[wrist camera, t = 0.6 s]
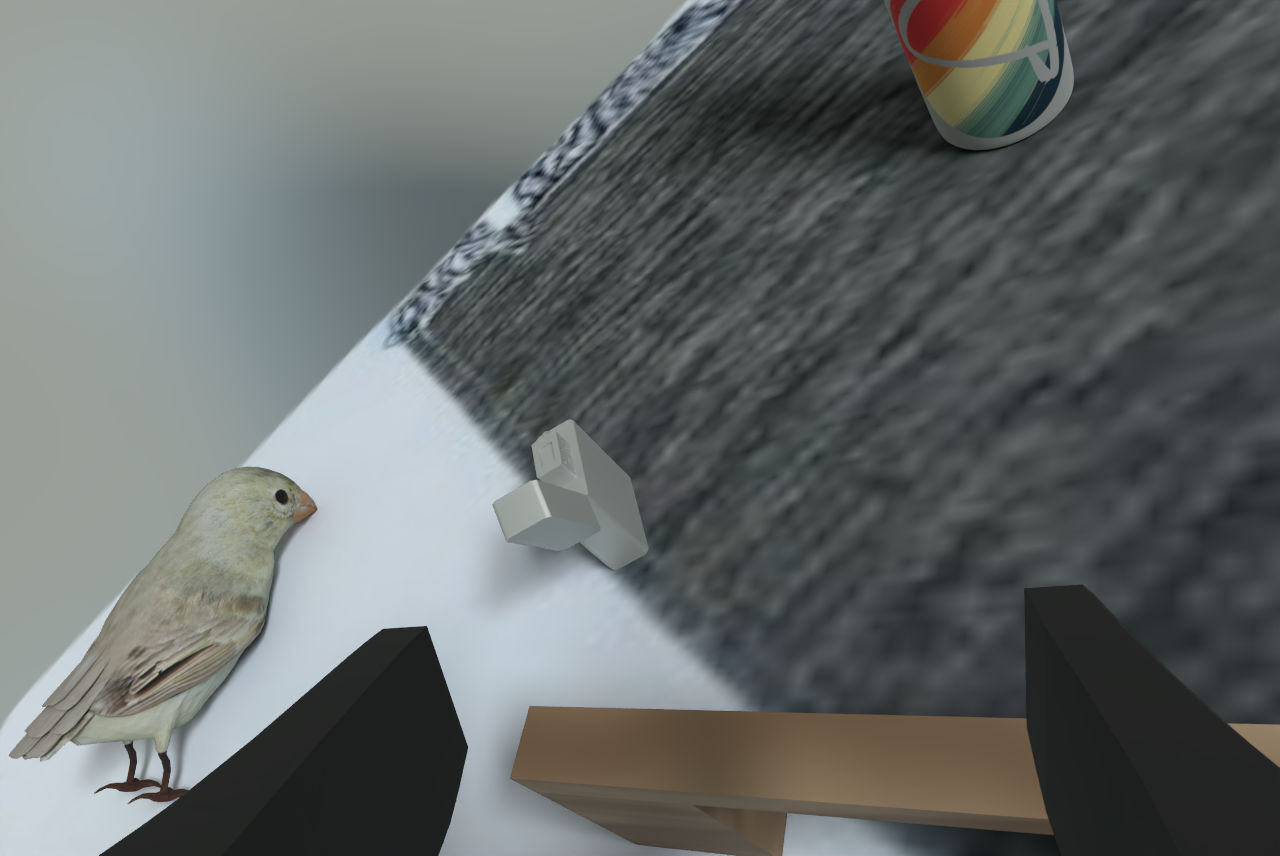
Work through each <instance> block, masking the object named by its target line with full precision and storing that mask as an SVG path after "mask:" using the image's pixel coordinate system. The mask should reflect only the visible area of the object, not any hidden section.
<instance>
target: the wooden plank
mask: <svg viewBox="0 0 1280 856" xmlns="http://www.w3.org/2000/svg"><path fill="white" fill-rule="evenodd" d="M1227 724H1228V723H1227ZM1228 725H1229V726H1231V727H1232V728H1233V729H1234V730H1235V731H1236V732H1238V733H1239V734H1240V735H1241V736H1242V737H1243V738H1245V739H1246V740H1247V741H1248V742H1249V743H1250V744H1252V745H1253V746H1254V747H1255V748H1256V749H1258V750H1259V751H1260V752H1261V753H1263V754H1264V755H1265V756H1266V757H1267V758H1269V759H1270V760H1271V761H1272V762H1274V763H1275V764H1276V765H1277V766H1278V767H1280V725H1268V724H1228ZM510 779H512V780H514V781H516V782H518V783H520V784H522V785H524V786H526V787H527V788H529V789H531V790H533V791H535V792H537V793H539V794H541V795H543V796H545V797H547V798H548V799H550V800H552V801H554V802H556V803H558V804H560V805H562V806H564V807H566V808H568V809H570V810H571V811H573V812H575V813H577V814H579V815H581V816H583V817H585V818H587V819H589V820H591V821H592V822H594V823H596V824H598V825H600V826H602V827H604V828H606V829H608V830H610V831H612V832H614V833H615V834H617V835H619V836H621V837H623V838H625V839H627V840H629V841H631V842H633V843H635V844H638V845H647V846H656V847H664V848H673V849H682V850H691V851H700V852H709V853H718V854H727V855H736V856H782V851H783V843H784V835H785V826H786V818H787V813H795V814H807V815H819V816H831V817H843V818H855V819H867V820H879V821H891V822H902V823H914V824H926V825H938V826H950V827H962V828H974V829H986V830H998V831H1010V832H1022V833H1034V834H1046V835H1054V833H1053V831H1052V828H1051V825H1050V822H1049V819H1048V816H1047V813H1046V810H1045V805H1044V801H1043V797H1042V793H1041V789H1040V784H1039V780H1038V776H1037V772H1036V767H1035V763H1034V758H1033V754H1032V749H1031V745H1030V740H1029V736H1028V731H1027V721H1026V718H986V717H946V716H906V715H865V714H825V713H785V712H745V711H704V710H664V709H624V708H584V707H543V706H530V707H529V710H528V714H527V718H526V722H525V725H524V729H523V733H522V737H521V740H520V744H519V748H518V751H517V755H516V759H515V763H514V766H513V770H512V774H511V778H510Z"/></svg>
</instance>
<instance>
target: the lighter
mask: <svg viewBox="0 0 1280 856" xmlns="http://www.w3.org/2000/svg"><path fill="white" fill-rule="evenodd" d="M532 450H533V456H534V462H535V468H536V474H537V478H538V479H540V480H541V481H540V480H533V481H529V482H527V483H526V484H524V485H522V486H521V487H519V488H517V489H515V490H514V491H512V492H510V493H508V494H507V495H505V496H503V497H502V498H500V499H498V500H496V501H495V502H494V503H493V508H494V510H495V513H496V515H497V518H498V521H499V523H500V526H501V528H502V531H503V533H504V536H505V539H506V541H507V542H511V543H517V544H522V545H528V546H533V547H539V548H544V549H550V550H556V551H563V550H566V549H568V548H570V547H572V546H573V545H575V544H577V543H579V542H580V543H581V544H582V545H583V546H584V547H586V548H587V549H588V550H589V551H590V552H591V553H593V554H594V555H595V556H596V557H597V558H598V559H600V560H601V561H602V562H603V563H604V564H605V565H607V566H608V567H609V568H610V569H612V570H615V571H616V570H618V569H620V568H621V567H623V566H625V565H627V564H629V563H631V562H633V561H634V560H636V559H638V558H640V557H642V556H644V555H646V553H647V551H648V545H647V541H646V537H645V533H644V529H643V525H642V521H641V517H640V514H639V510H638V506H637V502H636V498H635V494H634V490H633V486H632V482H631V479H630V477H629V476H628V475H627V474H626V473H625V472H624V471H623V470H622V469H621V468H620V467H619V466H618V465H617V464H616V463H615V462H614V461H613V460H612V459H611V458H610V457H609V456H608V455H607V454H606V453H605V452H604V451H603V450H602V449H601V448H600V447H599V446H598V445H597V444H596V443H595V442H594V441H593V440H592V439H591V438H590V437H589V436H588V435H587V434H586V433H585V432H584V431H583V430H582V429H581V428H580V427H579V426H578V425H577V424H576V423H575V422H574V421H573V420H567V421H565V422H563V423H562V424H560V425H558V426H557V427H555V428H553V429H552V430H550V431H545V432H544V433H543V434H542V435H541V436H540V437H539V438H538V439H537V441H536V442H535V443H534V444H533V445H532Z"/></svg>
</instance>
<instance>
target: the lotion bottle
mask: <svg viewBox="0 0 1280 856" xmlns="http://www.w3.org/2000/svg"><path fill="white" fill-rule="evenodd" d="M884 2H885V4H886V7H887V9H888V12H889V14H890V17H891V19H892V22H893V24H894V27H895V29H896V32H897V34H898V36H899V39H900V41H901V44H902V46H903V49H904V51H905V54H906V56H907V59H908V61H909V64H910V66H911V69H912V71H913V74H914V76H915V79H916V81H917V84H918V86H919V88H920V91H921V93H922V96H923V98H924V101H925V103H926V105H927V108H928V110H929V113H930V115H931V117H932V119H933V122H934V124H935V126H936V128H937V130H938V131H939V133H940V134H941V135H942V137H943V138H944V139H945V140H946V141H947V142H949V143H951V144H952V145H955V146H957V147H960V148H963V149H969V150H987V149H994V148H999V147H1003V146H1007V145H1010V144H1013V143H1015V142H1018V141H1020V140H1022V139H1024V138H1027V137H1028V136H1030V135H1032V134H1034V133H1036V132H1037V131H1039V130H1040V129H1042V128H1043V127H1045V126H1046V125H1047V124H1048V123H1050V122H1051V121H1052V120H1053V119H1054V118H1055V117H1056V116H1057V115H1058V114H1059V113H1060V112H1061V110H1062V109H1063V108H1064V106H1065V105H1066V103H1067V101H1068V100H1069V98H1070V96H1071V93H1072V90H1073V84H1074V74H1073V67H1072V63H1071V58H1070V54H1069V49H1068V45H1067V41H1066V37H1065V33H1064V29H1063V26H1062V22H1061V18H1060V14H1059V10H1058V7H1057V3H1056V0H884Z"/></svg>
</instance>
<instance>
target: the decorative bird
mask: <svg viewBox="0 0 1280 856" xmlns="http://www.w3.org/2000/svg"><path fill="white" fill-rule="evenodd" d="M316 510H317V507H316V505H315V503H314V501H313V500H312V499H311V498H310V496H309V495H308V494H307V493H305V492H304V491H302V490H301V489H300V487H299V486H298V485H297V484H296V483H295V482H293V481H292V480H291V479H289V478H288V477H286V476H284V475H283V474H281V473H278V472H275V471H272V470H268V469H264V468H259V467H242V468H235V469H232V470H230V471H227V472H225V473H222V474H221V475H219V476H218V477H217V478H215V479H214V480H213V481H212V482H210V483H209V484H207V485H206V486H205V487H204V488H203V489H202V490H201V491H200V492H199V494H198V495H197V496H196V497H195V499H194V500H193V501H192V503H191V504H190V506H189V508H188V509H187V511H186V512H185V514H184V516H183V518H182V520H181V522H180V524H179V526H178V528H177V530H176V532H175V533H174V534H173V536H172V537H171V538H170V539H169V540H168V541H167V543H166V544H165V545H164V546H163V547H162V548H161V549H160V550H159V551H158V552H157V554H156V555H155V556H154V557H153V558H152V560H151V561H150V562H149V563H148V564H147V565H146V567H145V568H144V569H143V570H142V571H140V573H139V574H138V575H137V576H136V577H135V579H134V580H133V581H132V582H131V584H130V585H129V586H128V587H127V589H126V590H125V592H124V593H123V594H122V596H121V597H120V599H119V600H118V602H117V603H116V605H115V607H114V608H113V610H112V611H111V613H110V614H109V616H108V618H107V619H106V621H105V623H104V625H103V628H102V630H101V632H100V634H99V636H98V637H97V638H96V640H95V641H94V642H93V644H92V645H91V647H90V648H89V650H88V651H87V653H86V655H85V656H84V658H83V659H82V661H81V662H80V663H79V665H78V666H77V667H76V668H75V669H74V670H73V671H72V672H71V674H70V675H69V676H68V677H67V678H66V679H65V680H64V681H63V682H62V684H61V685H60V686H59V687H58V688H57V689H56V690H55V691H54V692H53V693H52V695H51V696H50V697H49V698H48V699H47V700H46V702H45V703H44V704H43V705H42V707H45V706H46V705H47V707H46V708H45V709H44V710H43V711H42V712H41V713H40V714H39V716H38V717H37V718H36V719H35V720H34V721H33V722H32V723H31V724H30V725H29V726H28V728H27V729H26V730H25V732H27V734H26V736H25V737H24V738H23V739H22V740H21V741H20V742H19V743H18V744H17V746H16V747H15V748H14V749H13V750H12V752H11V753H10V754H9V756H10V757H11V758H16V759H18V758H20V757H21V756H22V757H23V758H24V759H25V760H26V759H31V758H39V757H40V761H45V760H48V759H50V758H51V757H52V756H53V755H54V754H55V753H56V752H57V751H59V750H60V749H61V748H62V747H63V746H64V745H65V744H66V743H67V742H68V741H69V740H70V741H71V742H73V743H74V744H76V745H77V746H78V745H86V744H95V743H105V742H117V741H123V743H124V744H125V748H126V750H127V752H128V755H129V758H130V766H129V772H128V777H127V782H124V783H112V784H108V785H106V786H104V787H102V788H100V789H98V790H97V791H96V792H95V793H97V792H99V791H101V790H103V789H106V788H113V789H117V790H119V791H123V792H133V791H137V790H140V789H142V788H144V787H150V786H157V787H160V788H161V789H160V792H157V793H145V794H141V795H140V796H138V797H136V798H134V799H132V800H131V801H130V802H129V803H131V802H133V801H135V800H137V799H139V798H145V799H150V800H152V801H156V802H168V801H171V800H174V799H176V798H178V797H181V796H183V795H184V794H185V793H187V792H188V791H189V790H185V789H177V790H173V789H172V788H170V787H168V783H169V778H170V773H171V767H170V760H169V758H168V756H167V755H166V753H167V749H168V745H169V741H170V737H171V733H172V731H173V729H175V728H177V727H179V726H182V725H184V724H186V723H187V722H189V721H190V720H191V719H192V718H193V717H194V716H195V715H196V714H197V713H198V711H199V710H200V709H201V708H202V707H203V705H204V704H205V702H206V701H207V699H208V698H209V697H210V696H211V695H212V694H213V692H214V691H215V690H216V689H217V688H218V687H219V686H220V684H221V683H222V682H223V681H224V680H225V678H226V677H227V675H228V674H229V673H230V671H231V670H232V668H233V667H234V665H235V664H236V662H237V661H238V659H239V657H240V656H241V654H242V653H243V651H244V650H245V648H247V647H248V646H249V645H250V644H251V643H252V642H253V641H254V639H255V638H256V637H257V636H258V635H259V633H260V632H261V630H262V627H263V625H264V622H265V617H266V610H267V605H268V600H269V593H270V588H271V584H272V578H273V571H274V563H275V560H274V549H275V548H276V546H277V544H278V542H279V541H280V539H281V537H282V536H283V535H284V533H285V532H286V531H287V530H288V529H289V528H290V527H291V526H293V525H294V524H297V523H298V522H300V521H301V520H303V519H304V518H306V517H307V516H309V515H310V514H312V513H313V512H314V511H316ZM146 738H154V740H155V745H156V750H157V752H158V755H159V757H160V759H161V761H162V765H163V769H164V772H163V779H162V784H161V785H160V784H159V783H158V782H156V781H153V780H150V779H148V780H141V781H140V780H139V779H137V778H134V775H135V770H136V765H137V757H136V751H135V750H134V748H133V740H141V739H146ZM95 793H94V794H95ZM129 803H128V804H129Z"/></svg>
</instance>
